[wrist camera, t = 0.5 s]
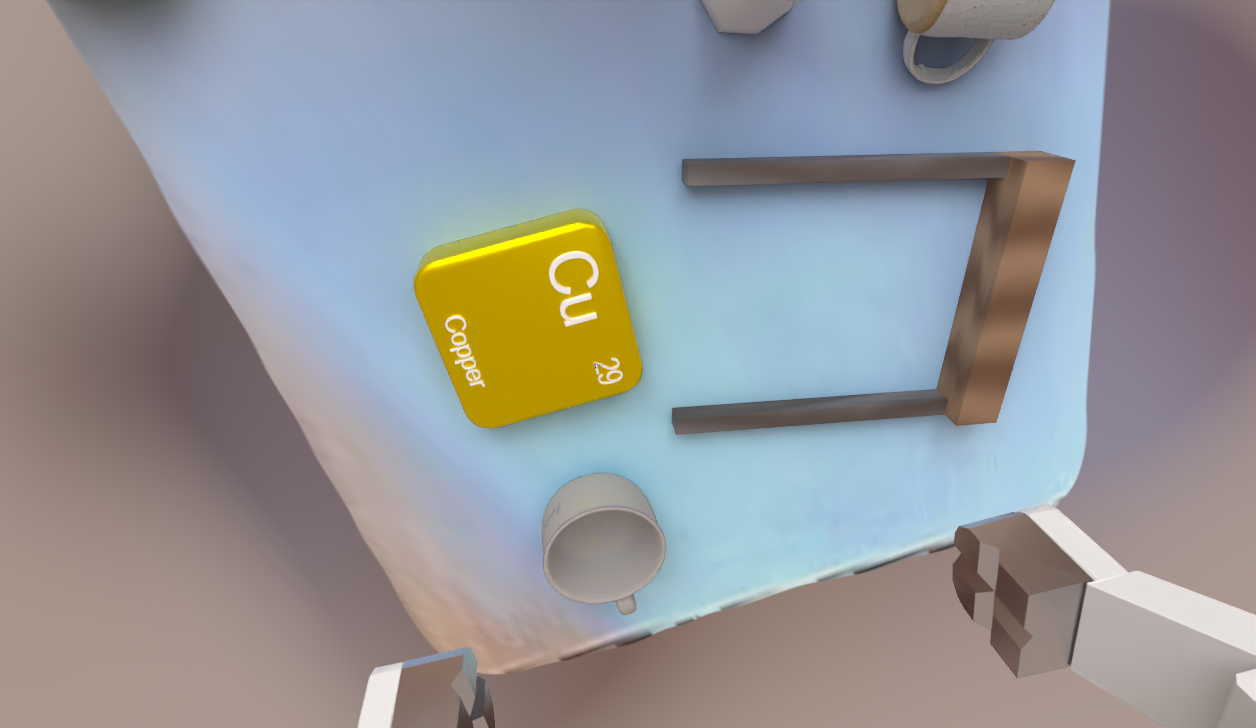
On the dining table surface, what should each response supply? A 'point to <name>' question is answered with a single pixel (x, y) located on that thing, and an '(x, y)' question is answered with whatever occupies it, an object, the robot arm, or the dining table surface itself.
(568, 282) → the element tile
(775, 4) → the flask
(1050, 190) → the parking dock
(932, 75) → the ceramic mug
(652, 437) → the dining table surface
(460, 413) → the dining table surface
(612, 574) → the teacup
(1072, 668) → the robot arm
